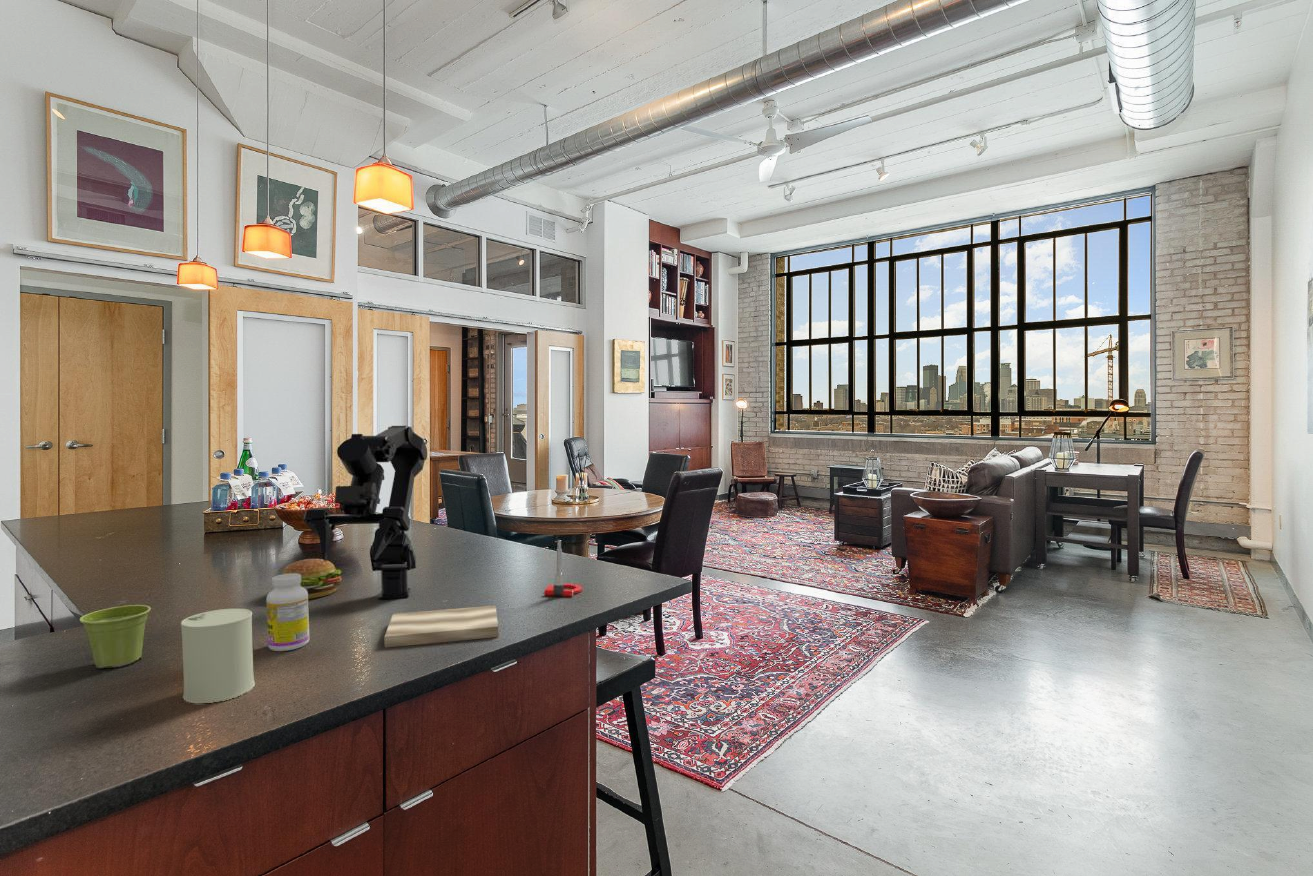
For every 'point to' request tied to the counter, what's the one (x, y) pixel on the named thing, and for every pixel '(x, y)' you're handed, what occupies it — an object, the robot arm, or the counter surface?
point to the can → (217, 655)
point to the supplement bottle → (287, 613)
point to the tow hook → (559, 587)
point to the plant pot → (116, 633)
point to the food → (316, 576)
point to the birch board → (441, 626)
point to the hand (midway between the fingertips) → (349, 559)
